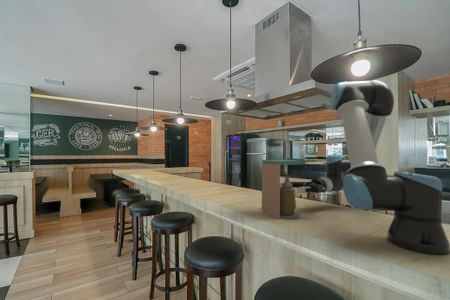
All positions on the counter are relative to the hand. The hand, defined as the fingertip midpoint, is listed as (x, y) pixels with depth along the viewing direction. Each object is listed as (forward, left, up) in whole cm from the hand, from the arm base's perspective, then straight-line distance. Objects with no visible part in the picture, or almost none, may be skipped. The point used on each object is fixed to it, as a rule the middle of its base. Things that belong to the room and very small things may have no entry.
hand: (288, 188), depth 103 cm
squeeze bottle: (0, +1, -12) cm, 12 cm away
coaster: (0, +1, -13) cm, 13 cm away
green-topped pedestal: (+3, +1, -13) cm, 13 cm away
